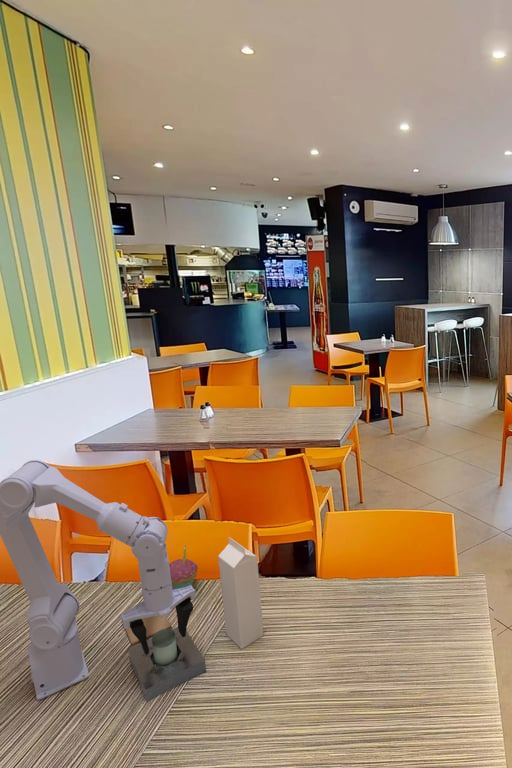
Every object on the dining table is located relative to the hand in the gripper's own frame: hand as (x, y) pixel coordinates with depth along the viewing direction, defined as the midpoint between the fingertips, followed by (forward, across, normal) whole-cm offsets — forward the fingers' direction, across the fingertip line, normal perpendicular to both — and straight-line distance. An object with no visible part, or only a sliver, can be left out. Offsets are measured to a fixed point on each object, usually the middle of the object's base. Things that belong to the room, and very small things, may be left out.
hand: (164, 642), depth 90 cm
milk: (+6, +17, -2) cm, 18 cm away
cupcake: (+6, +12, +22) cm, 26 cm away
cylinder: (+5, 0, 0) cm, 5 cm away
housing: (+5, 0, 0) cm, 5 cm away
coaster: (+5, 0, +14) cm, 15 cm away
